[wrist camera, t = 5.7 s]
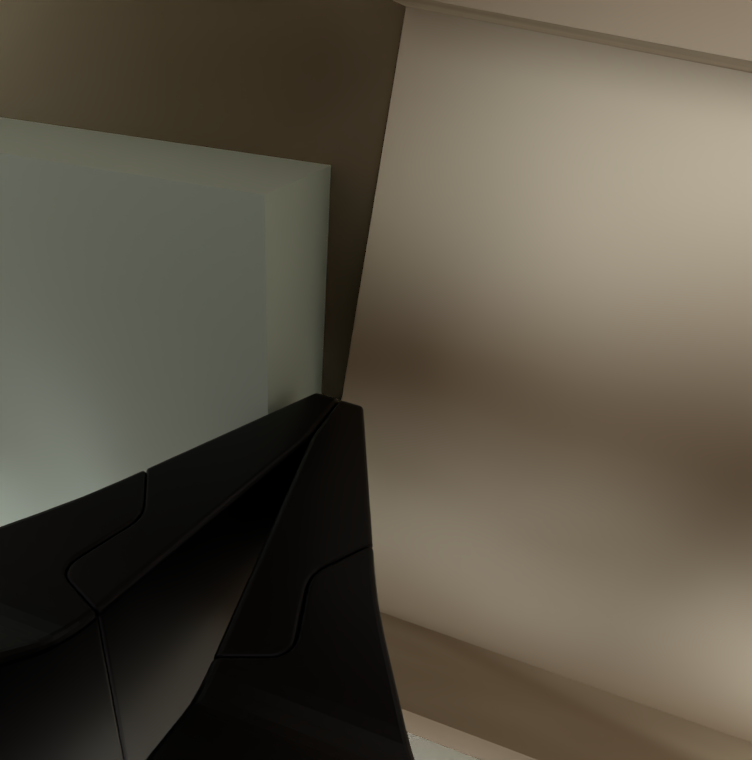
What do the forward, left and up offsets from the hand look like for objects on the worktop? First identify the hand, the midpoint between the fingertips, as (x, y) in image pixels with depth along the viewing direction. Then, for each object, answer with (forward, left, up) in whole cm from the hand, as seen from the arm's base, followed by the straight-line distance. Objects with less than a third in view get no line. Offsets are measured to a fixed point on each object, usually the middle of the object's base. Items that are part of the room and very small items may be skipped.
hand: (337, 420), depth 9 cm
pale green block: (-1, +4, -2) cm, 5 cm away
